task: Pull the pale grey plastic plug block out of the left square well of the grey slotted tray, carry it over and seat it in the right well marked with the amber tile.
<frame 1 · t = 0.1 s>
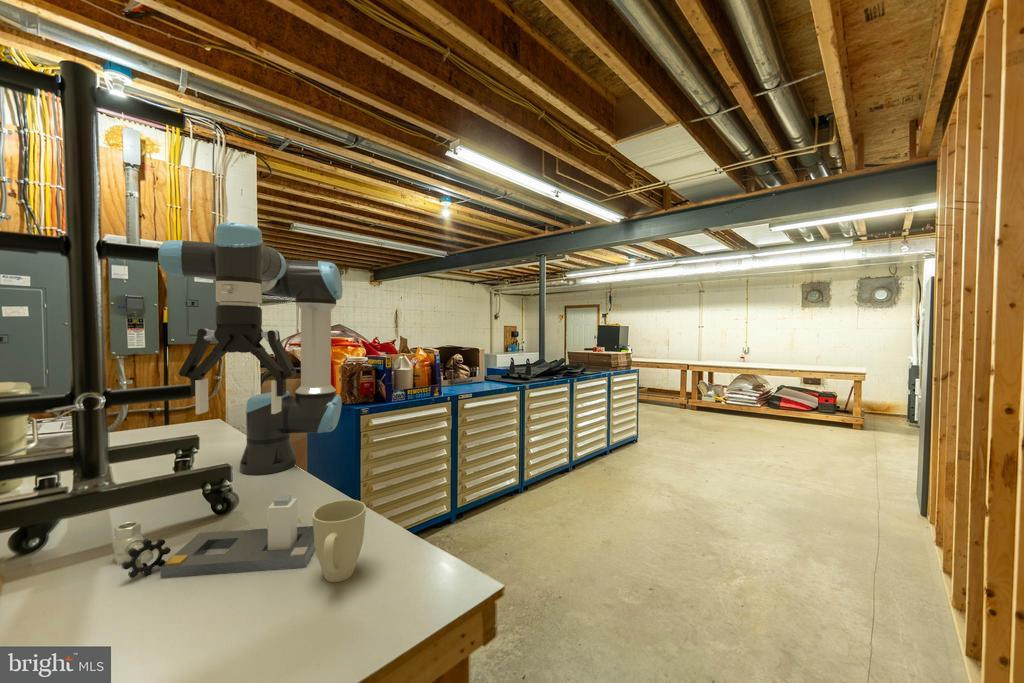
hand: (239, 412, 80), 28 cm above the table, fingers open, 13 cm apart
mug: (339, 578, 74), on the table
plug: (282, 552, 81), resting in grey slotted tray
valve: (135, 566, 76), on the table
grey slotted tray: (249, 554, 80), on the table
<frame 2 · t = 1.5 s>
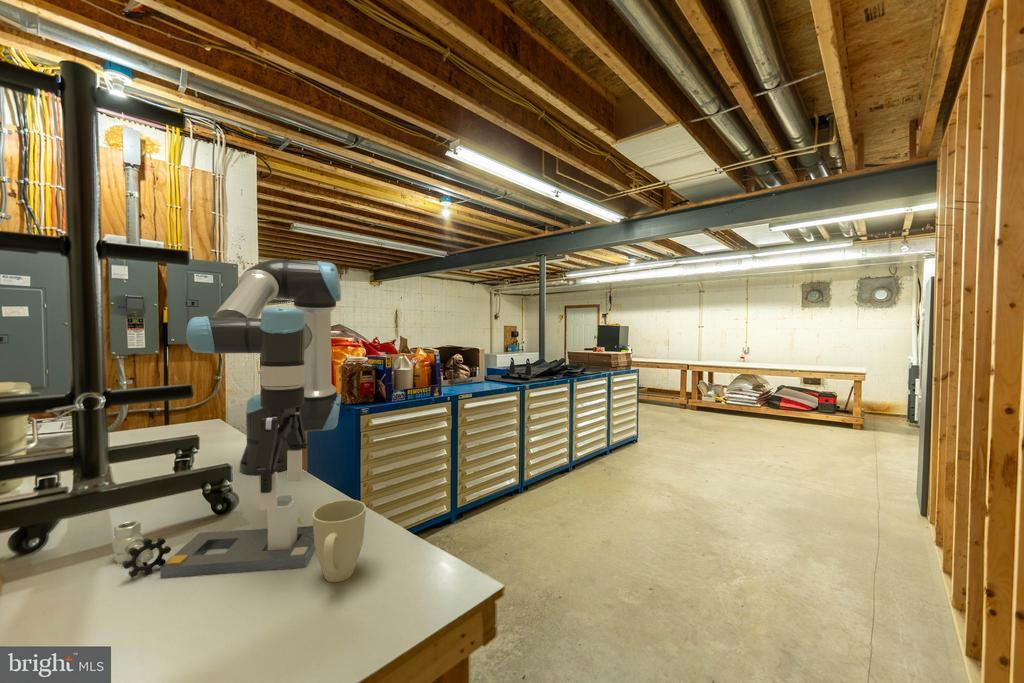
hand: (282, 493, 80), 12 cm above the table, fingers open, 13 cm apart
nothing on the table moved.
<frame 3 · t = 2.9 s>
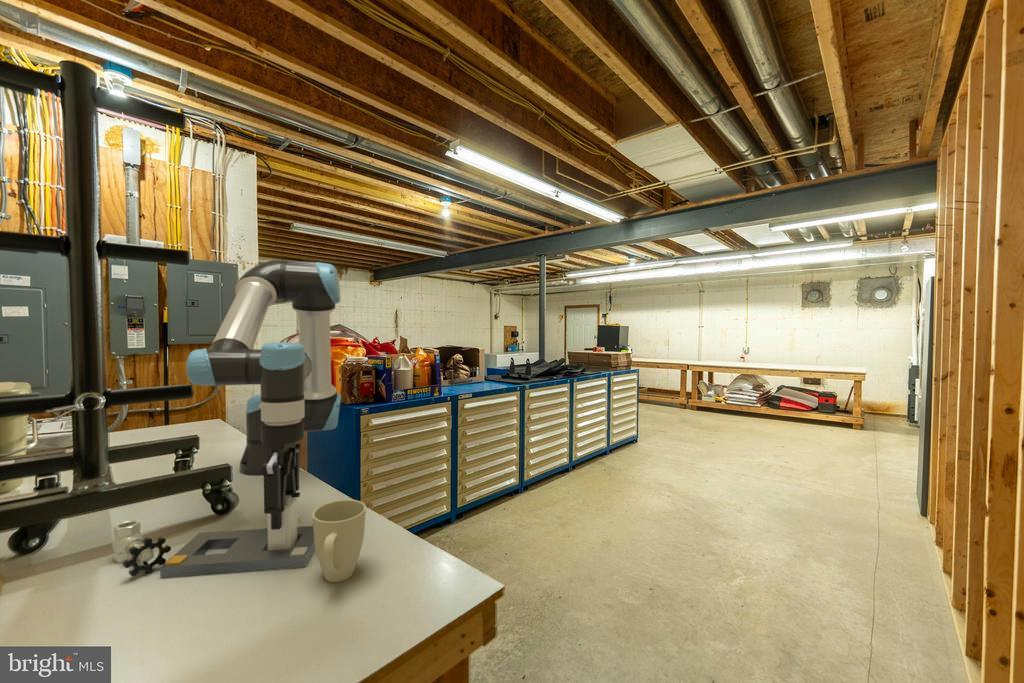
hand: (282, 536, 81), 3 cm above the table, fingers closed on plug, 4 cm apart
plug: (282, 551, 81), resting in grey slotted tray, touching gripper
everything else where it was.
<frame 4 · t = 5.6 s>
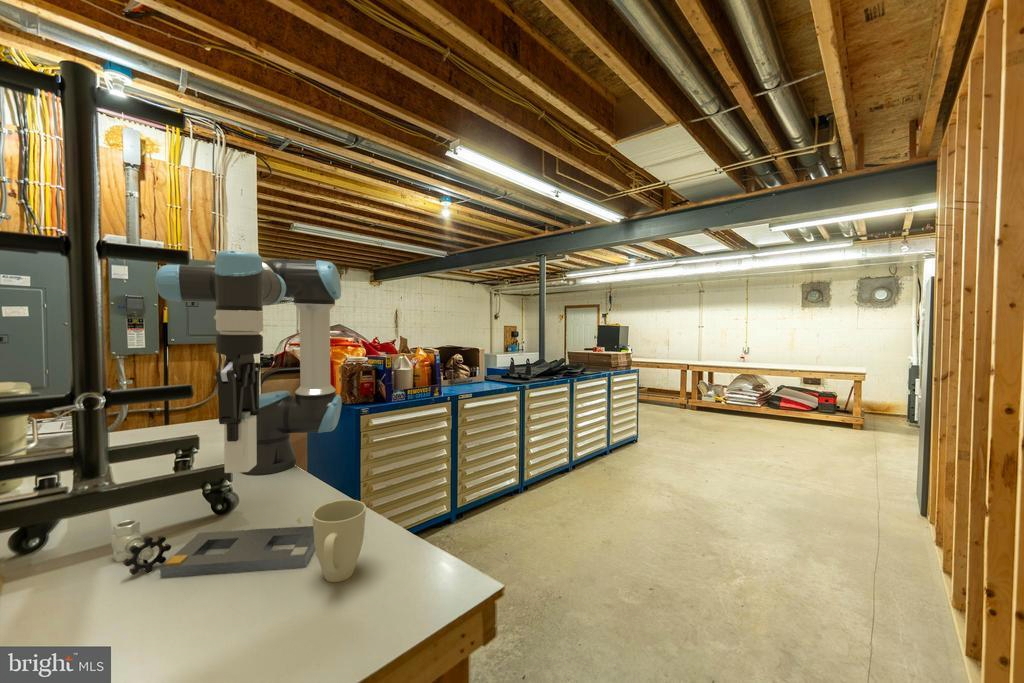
hand: (240, 452, 79), 20 cm above the table, fingers closed on plug, 4 cm apart
plug: (241, 468, 79), point 17 cm above the table, touching gripper
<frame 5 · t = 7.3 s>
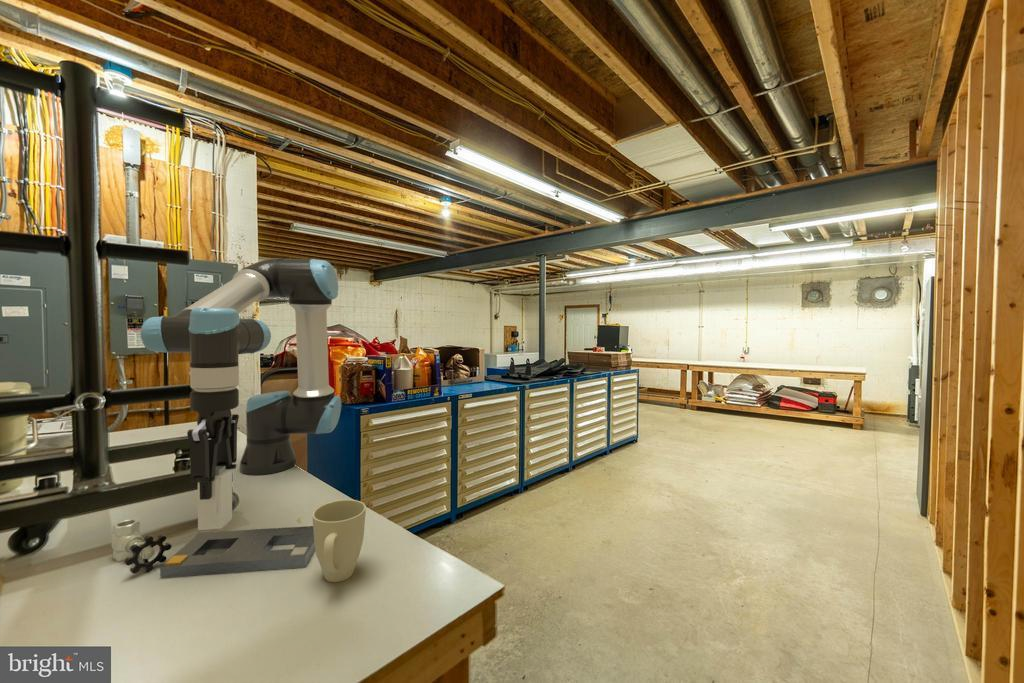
hand: (215, 508, 78), 10 cm above the table, fingers closed on plug, 4 cm apart
plug: (215, 524, 79), point 6 cm above the table, touching gripper
when the fingers open (4 cm above the table, at t = 8.6 s): plug stays where it is, resting in grey slotted tray.
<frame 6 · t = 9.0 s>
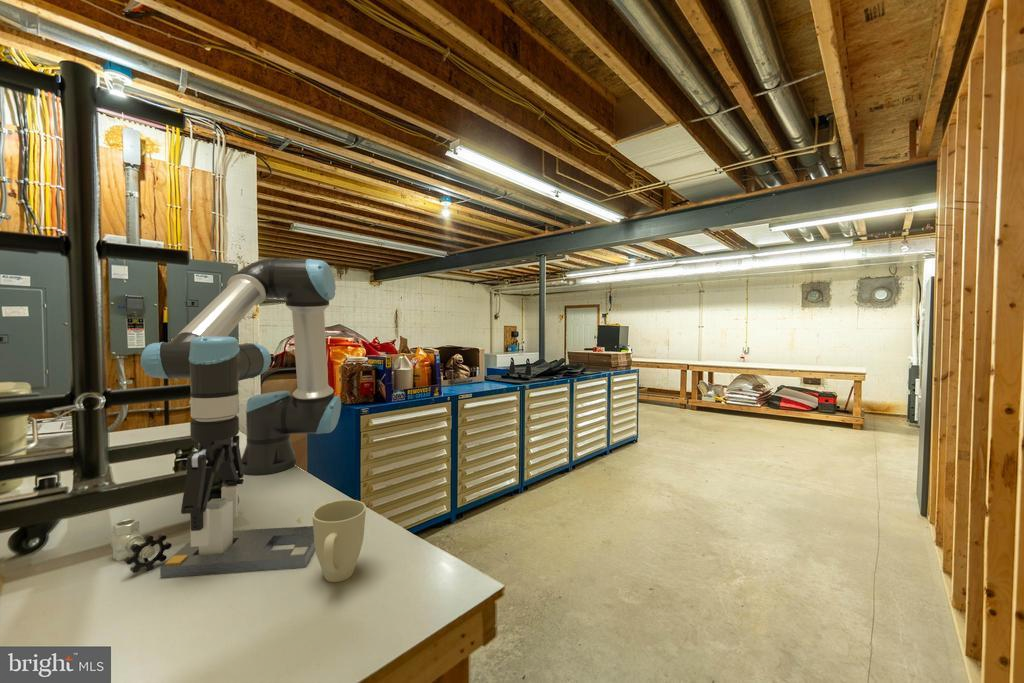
hand: (216, 530, 79), 5 cm above the table, fingers open, 10 cm apart
plug: (216, 556, 79), resting in grey slotted tray
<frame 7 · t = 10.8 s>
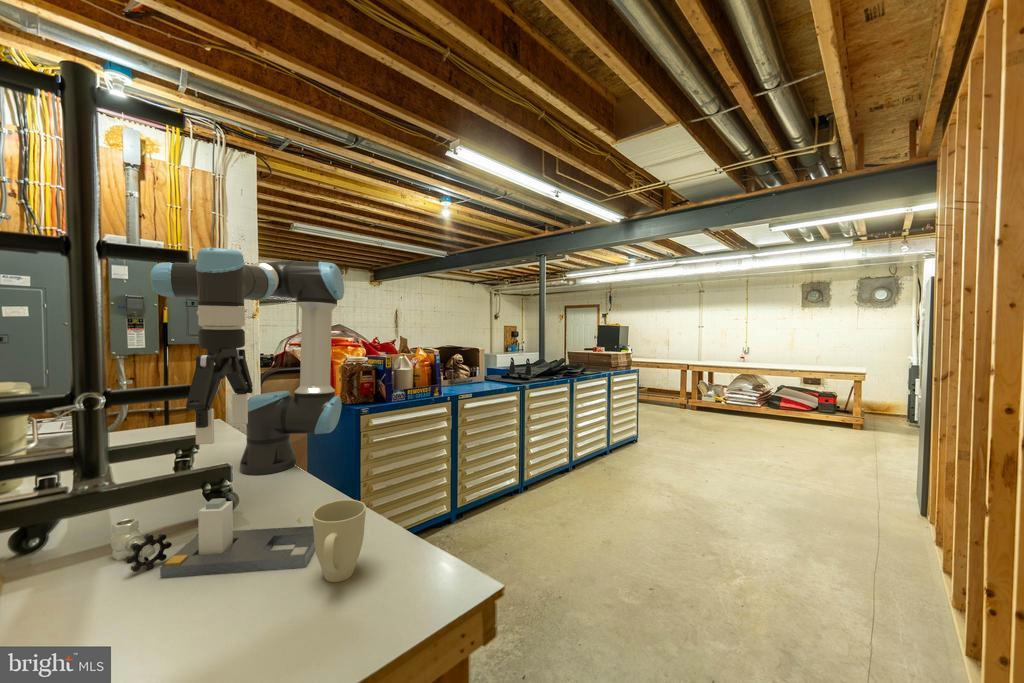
hand: (224, 433, 82), 23 cm above the table, fingers open, 13 cm apart
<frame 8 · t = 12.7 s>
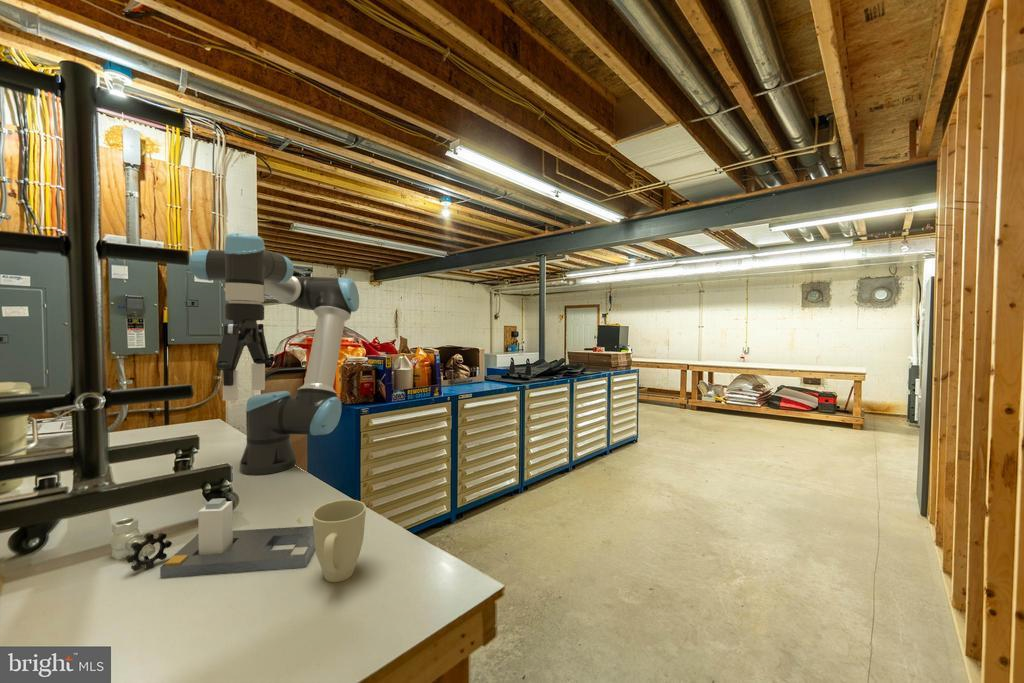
hand: (245, 394, 94), 29 cm above the table, fingers open, 13 cm apart
at the end: plug 0.0 cm from the target spot on the grey slotted tray, point 0.0 cm above the grey slotted tray's base; plug tilted 0°; the gripper is holding nothing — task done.
